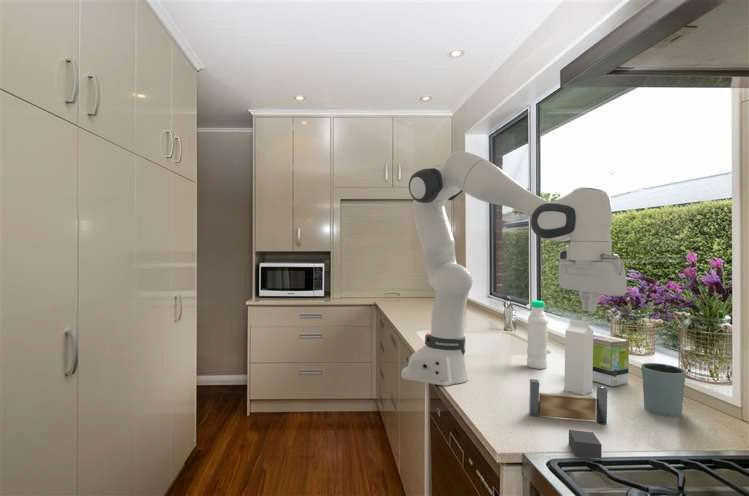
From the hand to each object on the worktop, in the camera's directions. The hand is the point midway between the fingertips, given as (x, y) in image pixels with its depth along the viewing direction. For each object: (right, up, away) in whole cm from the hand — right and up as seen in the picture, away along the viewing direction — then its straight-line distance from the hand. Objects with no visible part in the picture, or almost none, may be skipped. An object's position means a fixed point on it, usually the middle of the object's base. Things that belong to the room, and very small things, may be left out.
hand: (589, 310), depth 99 cm
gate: (-2, -29, +7) cm, 29 cm away
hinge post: (+6, -29, +5) cm, 30 cm away
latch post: (-9, -29, +9) cm, 32 cm away
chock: (-7, -29, -11) cm, 32 cm away
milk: (+12, -30, +30) cm, 44 cm away
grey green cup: (+28, -30, +14) cm, 43 cm away
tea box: (+26, -30, +43) cm, 58 cm away
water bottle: (+10, -30, +56) cm, 64 cm away
